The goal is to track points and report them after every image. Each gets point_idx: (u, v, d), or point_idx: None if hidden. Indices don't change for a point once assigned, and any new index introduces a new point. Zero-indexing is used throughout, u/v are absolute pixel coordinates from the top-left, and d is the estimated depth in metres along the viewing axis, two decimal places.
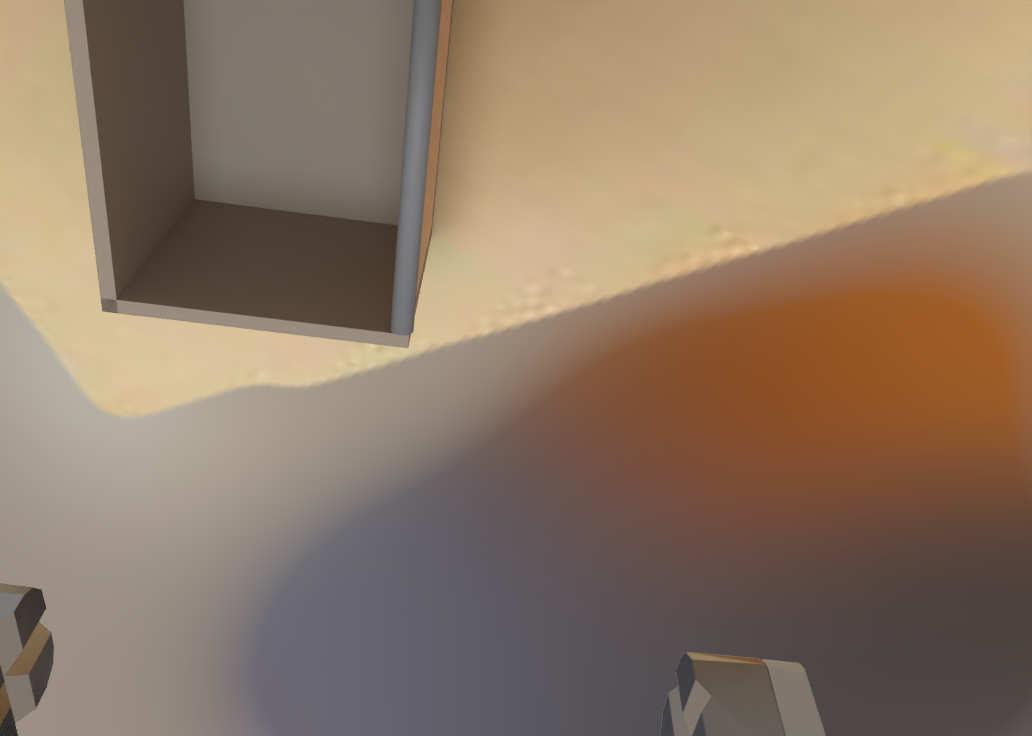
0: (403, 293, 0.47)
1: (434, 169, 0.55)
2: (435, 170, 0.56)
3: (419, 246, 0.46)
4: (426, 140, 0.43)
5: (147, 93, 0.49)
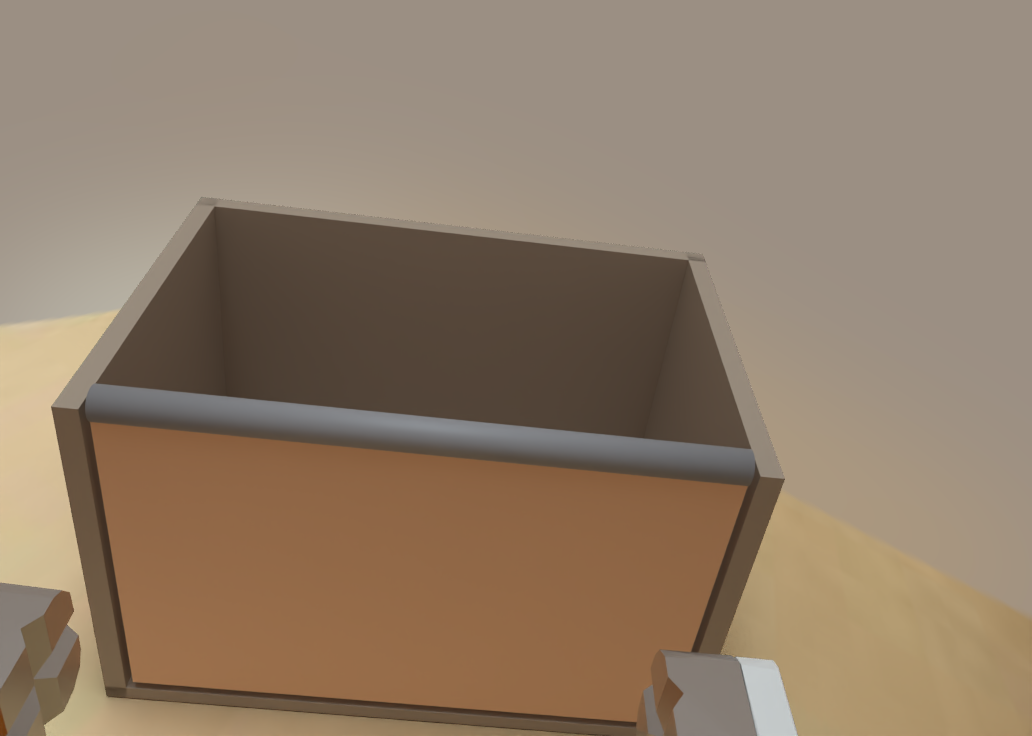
0: (173, 394, 0.28)
1: (262, 647, 0.34)
2: (248, 669, 0.35)
3: (252, 424, 0.28)
4: (432, 436, 0.29)
5: (405, 353, 0.45)
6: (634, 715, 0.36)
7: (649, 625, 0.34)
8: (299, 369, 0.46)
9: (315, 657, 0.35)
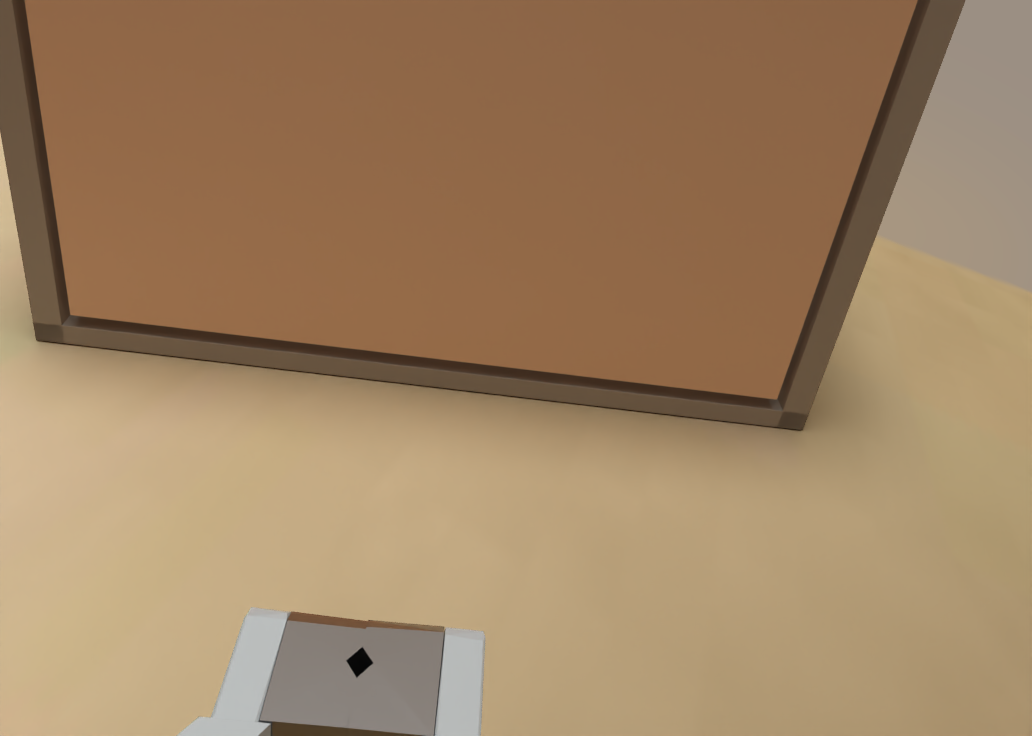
0: None
1: (244, 254, 0.25)
2: (225, 293, 0.26)
3: None
4: None
5: None
6: (736, 383, 0.28)
7: (771, 220, 0.25)
8: None
9: (315, 273, 0.26)
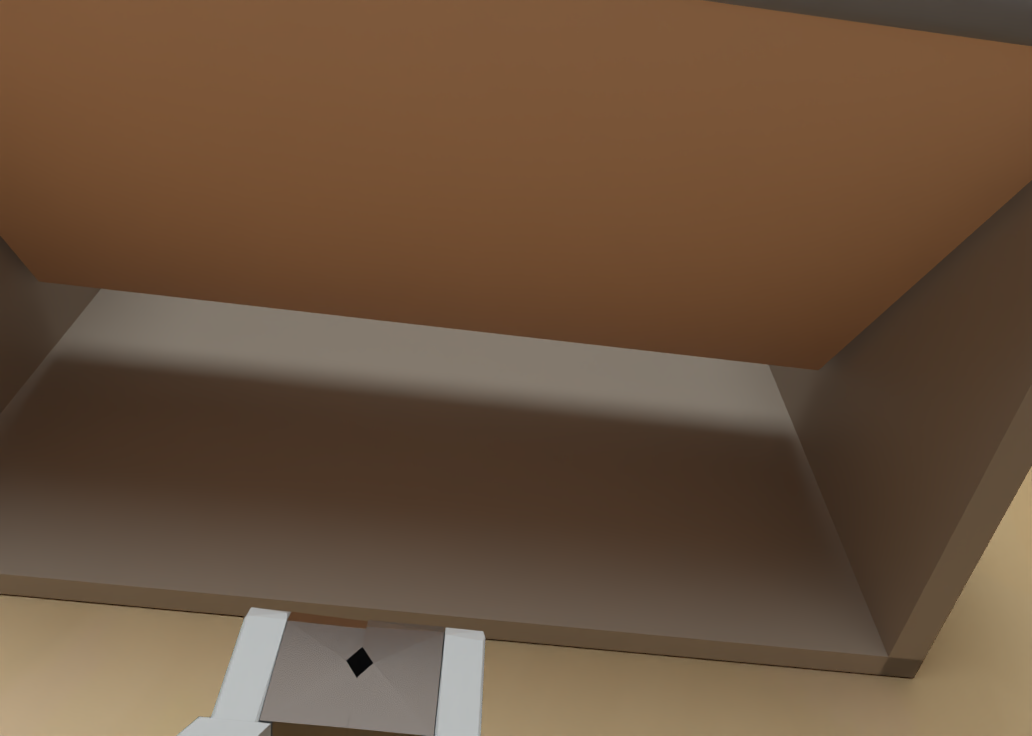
0: None
1: (213, 256, 0.22)
2: (201, 278, 0.23)
3: None
4: None
5: None
6: (775, 359, 0.25)
7: (842, 267, 0.20)
8: None
9: (298, 272, 0.22)
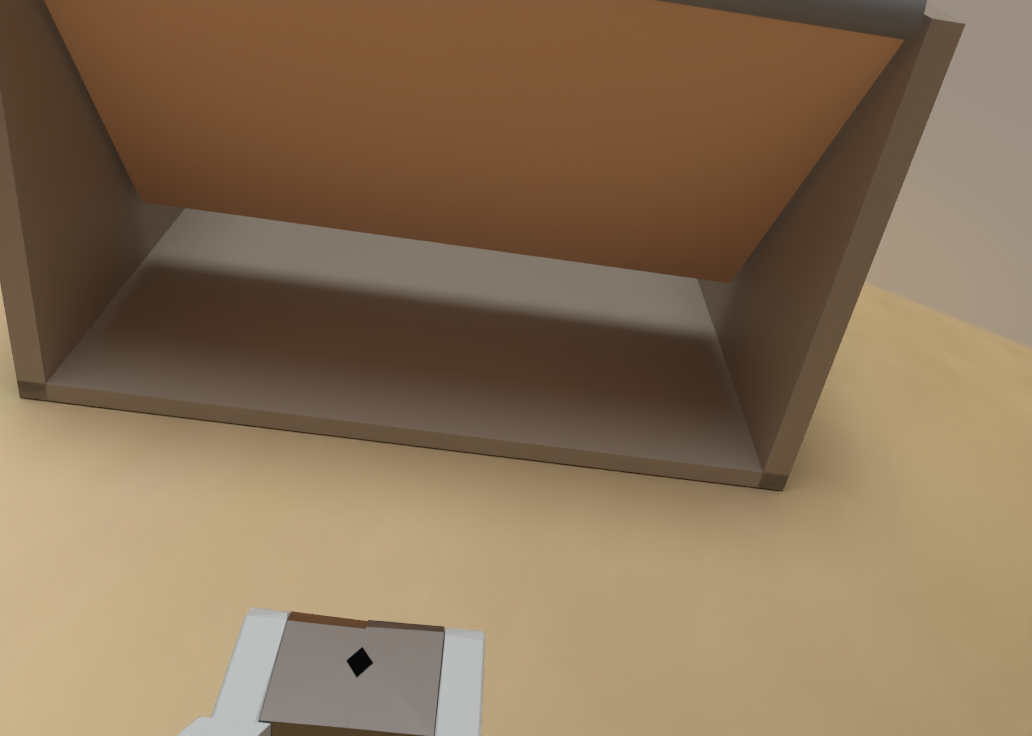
0: None
1: (278, 180, 0.30)
2: (266, 199, 0.31)
3: None
4: None
5: None
6: (697, 273, 0.33)
7: (732, 190, 0.28)
8: None
9: (340, 193, 0.30)
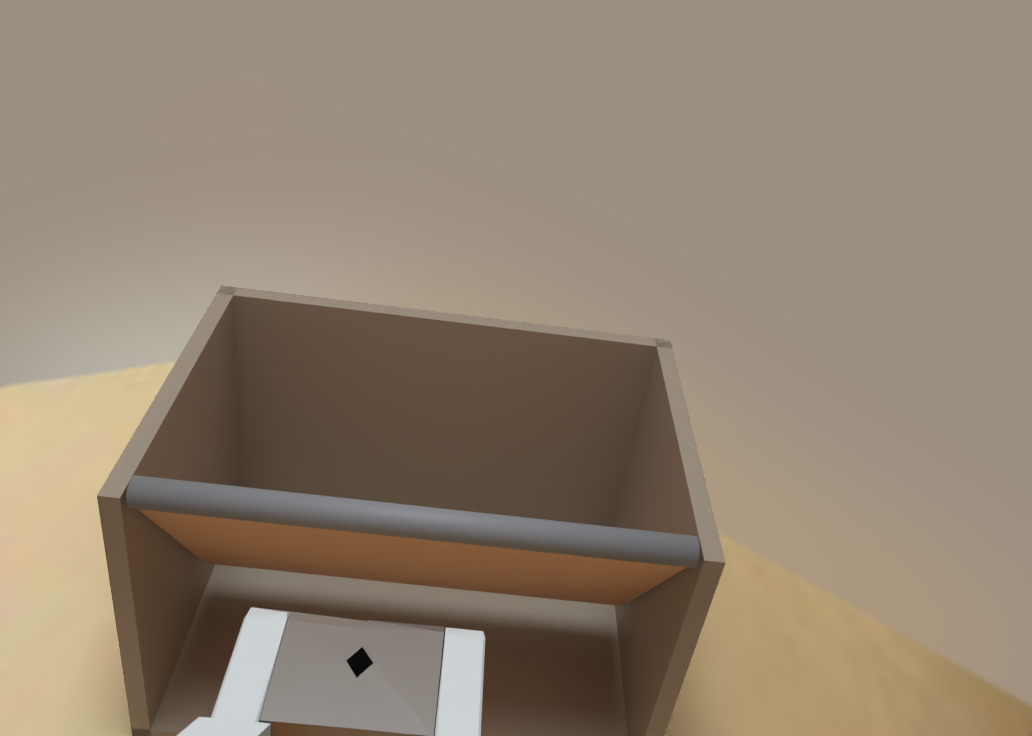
0: (198, 494, 0.33)
1: (301, 565, 0.43)
2: (292, 568, 0.44)
3: (268, 520, 0.33)
4: (421, 533, 0.34)
5: (401, 423, 0.50)
6: (597, 602, 0.46)
7: (608, 586, 0.41)
8: (306, 435, 0.51)
9: (343, 570, 0.44)
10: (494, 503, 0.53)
